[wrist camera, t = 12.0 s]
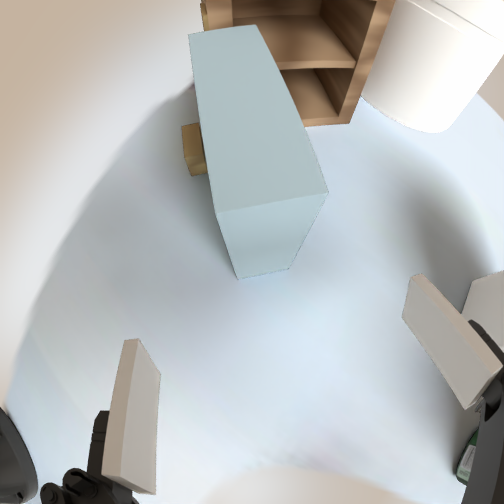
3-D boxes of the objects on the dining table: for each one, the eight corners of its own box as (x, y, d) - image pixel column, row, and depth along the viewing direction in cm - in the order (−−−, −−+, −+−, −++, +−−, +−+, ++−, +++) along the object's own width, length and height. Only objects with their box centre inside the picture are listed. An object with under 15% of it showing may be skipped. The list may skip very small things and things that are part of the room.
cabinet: (191, 176, 24) (134, 19, 9) (182, 82, 28) (152, -36, 12) (361, 150, 25) (427, 16, 10) (317, 65, 29) (338, -45, 13)
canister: (467, 111, 28) (531, 20, 8) (419, 152, 25) (516, 15, 6) (387, 43, 31) (421, -54, 12) (319, 64, 29) (345, -75, 9)
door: (237, 279, 22) (215, 213, 9) (213, 151, 25) (188, 34, 13) (288, 269, 22) (329, 192, 10) (255, 144, 25) (255, 24, 13)
